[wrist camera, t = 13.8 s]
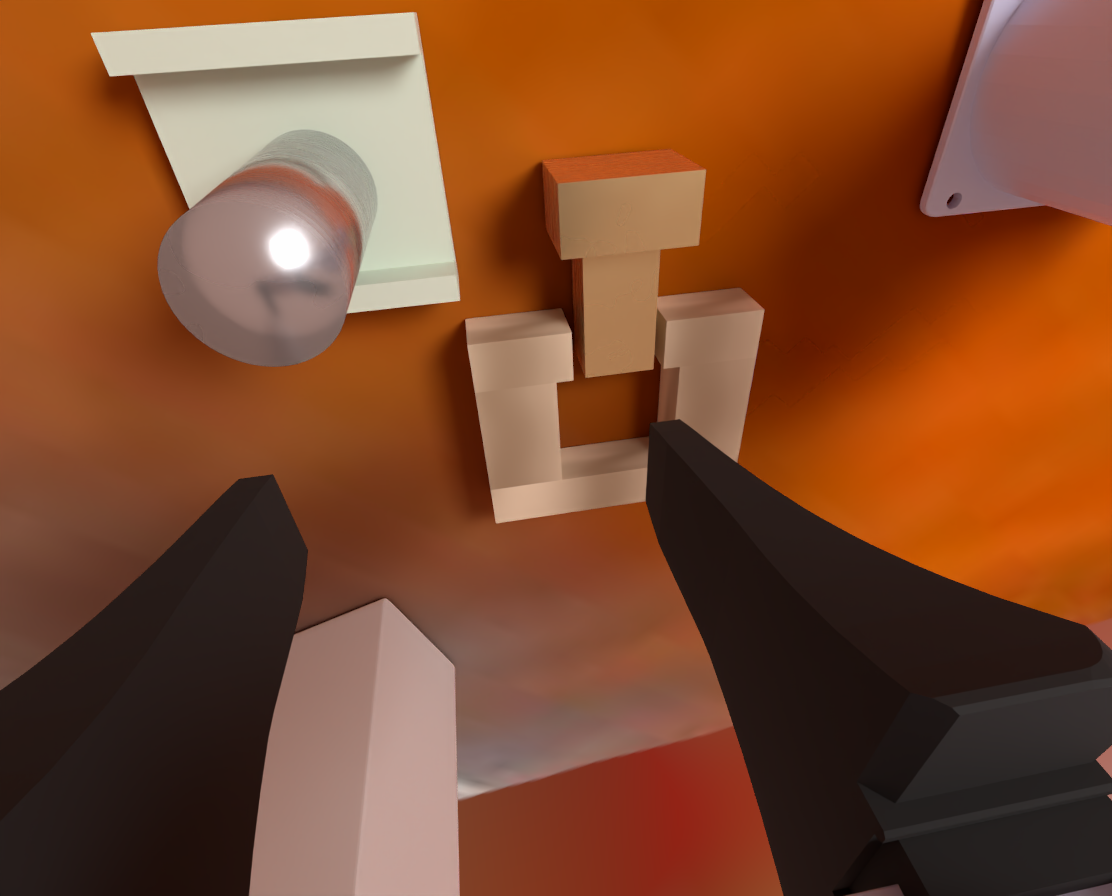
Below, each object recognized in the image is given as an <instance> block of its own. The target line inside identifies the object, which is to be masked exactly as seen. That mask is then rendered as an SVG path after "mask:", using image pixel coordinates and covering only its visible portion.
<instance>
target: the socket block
mask: <svg viewBox="0 0 1112 896" xmlns="http://www.w3.org/2000/svg"><path fill="white" fill-rule="evenodd" d="M764 311H765V309H763V308H762V307H761V306H760V305H759V304H758V303H757V302H756V301H755V300H754V299H752V298H751V297H750V296H749V295H748V294H747V293H746V292H745V291H744V290H743V289H741V288H731V289H723V290H714V291H705V292H696V293H688V294H679V295H670V296H662V297H658V299H657V316H656V334H655V351H654V355H655V356H656V358H657V359H658V361H659V363H660V364H661V375H660V390H659V404H658V419H657V422H662V421H669V420H677V419H680V420H682V421H683V422H684V423H686V424H687V425H688V426H690V427H691V428H692V429H694V430H695V431H696V432H698V433H699V434H700V435H701V436H703V437H704V438H705V439H707V440H708V441H709V442H710V443H712V444H713V445H714V446H716V447H717V448H718V449H719V450H721V451H722V452H723V453H725V454H726V455H727V456H729V457H730V458H731V459H733V460H734V461H735V462H737V461H738V455H739V450H740V444H741V439H742V433H743V428H744V422H745V417H746V411H747V405H748V400H749V394H750V389H751V383H752V378H753V372H754V366H755V361H756V355H757V350H758V344H759V339H760V333H761V328H762V322H763V316H764ZM465 323H466V335H467V347H468V353H469V359H470V365H471V371H472V378H473V384H474V390H475V396H476V402H477V409H478V415H479V421H480V427H481V434H482V440H483V446H484V452H485V458H486V465H487V471H488V477H489V483H490V489H491V496H492V502H493V508H494V514H495V520H496V523H502V522H509V521H516V520H522V519H529V518H536V517H542V516H549V515H556V514H563V513H569V512H576V511H583V510H589V509H596V508H603V507H610V506H616V505H623V504H630V503H636V502H643V501H646V500H645V499H646V481H647V464H648V447H649V436H647V437H640V438H632V439H625V440H618V441H611V442H604V443H596V444H589V445H582V446H575V447H567V448H560V435H559V418H558V401H557V384H556V383H558V382H565V381H573V380H574V378H573V352H572V332H571V330H570V327H569V325H568V322H567V320H566V317H565V315H564V313H563V310H562V308H557V309H549V310H540V311H531V312H522V313H514V314H505V315H496V316H488V317H479V318H470V319H465Z"/></svg>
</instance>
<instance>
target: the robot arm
mask: <svg viewBox="0 0 1112 896" xmlns="http://www.w3.org/2000/svg"><path fill="white" fill-rule="evenodd" d="M953 194H954V197H953V199H952V201H951V202H950V203H949V204H948V205H947V201H948V199H949V197H950V196H952V195H953ZM1043 205H1047V206H1050V207H1053V208H1056V209H1060V210H1063V211H1066V212H1069V213H1072V214H1075V215H1079V216H1082V217H1085V218H1088V219H1091V220H1095V221H1098V222H1101V223H1104V224H1107V225H1110V226H1112V0H984V2H983V5H982V8H981V11H980V15H979V18H978V21H977V24H976V27H975V30H974V34H973V37H972V40H971V43H970V46H969V49H968V52H967V56H966V59H965V62H964V65H963V68H962V71H961V75H960V78H959V81H958V84H957V87H956V90H955V94H954V97H953V100H952V103H951V106H950V109H949V113H948V116H947V119H946V122H945V125H944V128H943V132H942V135H941V138H940V141H939V144H938V147H937V150H936V154H935V157H934V160H933V163H932V166H931V169H930V173H929V176H928V179H927V182H926V185H925V188H924V192H923V195H922V198H921V201H920V210H921V212H922V213H924V214H925V215H928V216H930V217H940V216H950V215H959V214H968V213H978V212H987V211H997V210H1006V209H1015V208H1025V207H1034V206H1043ZM645 500H646V504H647V507H648V510H649V514H650V517H651V520H652V524H653V527H654V530H655V533H656V536H657V539H658V542H659V545H660V547H661V549H662V552H663V554H664V556H665V558H666V560H667V563H668V565H669V567H670V569H671V571H672V573H673V576H674V578H675V580H676V582H677V584H678V586H679V589H680V591H681V593H682V595H683V597H684V599H685V602H686V604H687V606H688V608H689V610H690V612H691V614H692V617H693V619H694V621H695V623H696V625H697V627H698V630H699V632H700V634H701V636H702V638H703V641H704V643H705V646H706V648H707V650H708V653H709V655H710V658H711V661H712V663H713V666H714V669H715V672H716V675H717V678H718V681H719V684H720V687H721V690H722V692H723V695H724V698H725V701H726V704H727V707H728V710H729V713H730V716H731V719H732V723H733V726H734V729H735V732H736V735H737V738H738V741H739V744H740V747H741V750H742V753H743V756H744V760H745V763H746V766H747V769H748V773H749V776H750V779H751V783H752V785H753V789H754V793H755V796H756V799H757V803H758V806H759V809H760V812H761V816H762V819H763V823H764V827H765V830H766V834H767V837H768V841H769V844H770V848H771V851H772V855H773V858H774V862H775V866H776V869H777V873H778V876H779V880H780V884H781V887H782V891H783V895H784V896H1112V801H1111V799H1110V798H1109V797H1108V796H1107V795H1109V794H1112V778H1111V777H1110V776H1109V774H1108V773H1107V772H1106V771H1105V770H1104V769H1103V768H1102V766H1101V765H1100V764H1099V763H1098V762H1097V761H1096V759H1097V758H1098V757H1099V756H1100V755H1101V754H1102V753H1103V752H1105V751H1106V749H1108V748H1109V747H1110V746H1111V745H1112V650H1111V649H1110V648H1109V647H1108V646H1107V645H1106V644H1105V643H1103V641H1102V640H1100V639H1099V638H1098V637H1097V636H1096V635H1095V634H1094V633H1093V632H1092V631H1091V630H1090V629H1089V628H1088V627H1086V626H1085V625H1082V624H1079V623H1075V622H1072V621H1069V620H1066V619H1063V618H1060V617H1057V616H1054V615H1051V614H1048V613H1044V612H1041V611H1038V610H1035V609H1032V608H1029V607H1026V606H1023V605H1020V604H1017V603H1013V602H1010V601H1007V600H1004V599H1001V598H998V597H996V596H993V595H990V594H987V593H985V592H982V591H979V590H977V589H974V588H972V587H969V586H966V585H964V584H961V583H958V582H956V581H953V580H951V579H948V578H945V577H943V576H941V575H938V574H936V573H933V572H931V571H928V570H926V569H924V568H921V567H919V566H917V565H914V564H912V563H910V562H908V561H905V560H903V559H901V558H899V557H897V556H895V555H892V554H890V553H888V552H886V551H884V550H881V549H879V548H877V547H875V546H873V545H871V544H869V543H867V542H865V541H863V540H861V539H859V538H857V537H855V536H853V535H851V534H849V533H847V532H846V531H844V530H842V529H840V528H838V527H836V526H835V525H833V524H831V523H829V522H827V521H825V520H824V519H822V518H820V517H818V516H817V515H815V514H813V513H811V512H810V511H808V510H806V509H805V508H803V507H801V506H800V505H798V504H797V503H795V502H794V501H792V500H791V499H789V498H787V497H786V496H784V495H783V494H781V493H780V492H778V491H776V490H775V489H773V488H772V487H770V486H769V485H768V484H766V483H765V482H763V481H762V480H760V479H759V478H757V477H756V476H755V475H753V474H752V473H750V472H749V471H748V470H746V469H745V468H743V467H742V466H741V465H739V464H738V463H737V462H735V461H734V460H733V459H731V458H730V457H729V456H727V455H726V454H725V453H723V452H722V451H721V450H719V449H718V448H717V447H716V446H714V445H713V444H712V443H710V442H709V441H708V440H707V439H705V438H704V437H703V436H701V435H700V434H699V433H698V432H696V431H695V430H694V429H692V428H691V427H690V426H688V425H687V424H686V423H684V422H683V421H682V420H680V419H677V420H669V421H662V422H655V423H650V430H649V447H648V464H647V481H646V499H645ZM307 554H308V550H307V547H306V545H305V543H304V541H303V539H302V536H301V534H300V532H299V530H298V528H297V526H296V523H295V521H294V519H293V517H292V515H291V512H290V510H289V508H288V506H287V504H286V502H285V499H284V497H283V495H282V493H281V491H280V488H279V486H278V484H277V482H276V480H275V478H274V475H266V476H258V477H251V478H244V479H239V480H238V481H237V482H235V483H234V484H233V485H232V486H231V487H230V488H229V489H228V490H227V491H226V492H225V493H224V494H223V495H222V496H221V497H220V498H219V499H218V500H217V501H216V502H215V503H214V504H213V505H212V506H211V507H210V508H209V509H208V510H207V511H206V512H205V513H204V514H203V515H202V516H201V517H200V518H199V519H198V520H197V521H196V522H195V523H194V524H193V525H192V526H191V527H190V528H189V529H188V530H187V531H186V532H185V533H184V534H183V535H182V536H181V537H180V538H179V539H178V540H177V541H176V542H175V543H174V544H173V545H172V546H171V547H170V548H169V549H168V550H167V551H166V552H165V553H164V554H163V555H162V556H161V557H160V558H159V559H158V560H157V561H156V562H155V563H154V564H153V565H151V566H150V567H149V568H148V569H147V570H146V571H145V572H144V573H143V574H142V575H141V576H140V577H138V578H137V579H136V580H135V581H134V582H133V583H132V584H131V585H130V586H129V587H128V588H126V589H125V590H124V591H123V592H122V593H121V594H120V595H119V596H118V597H117V598H116V599H115V600H113V601H112V602H111V603H110V604H109V605H108V606H107V607H106V608H105V609H104V610H102V611H101V612H100V613H99V614H98V615H97V616H95V617H94V618H93V619H92V620H91V621H90V622H88V623H87V624H86V625H85V626H84V627H82V628H81V629H80V630H79V631H78V632H76V633H75V634H74V635H73V636H72V637H70V638H69V639H68V640H67V641H65V642H64V643H63V644H62V645H60V646H59V647H58V648H56V649H55V650H54V651H53V652H51V653H50V654H49V655H48V656H46V657H45V658H44V659H43V660H41V661H40V662H39V663H38V664H36V665H35V666H34V667H32V668H31V669H30V670H28V671H27V672H26V673H24V674H23V675H21V676H20V677H19V678H17V679H16V680H14V681H13V682H12V683H10V684H9V685H8V686H6V687H5V688H3V689H2V690H1V691H0V896H249V891H250V880H251V870H252V859H253V849H254V841H255V833H256V824H257V816H258V808H259V800H260V792H261V785H262V778H263V771H264V765H265V758H266V751H267V744H268V738H269V733H270V728H271V723H272V719H273V714H274V709H275V706H276V702H277V698H278V694H279V690H280V686H281V682H282V679H283V675H284V671H285V667H286V663H287V659H288V656H289V652H290V648H291V644H292V640H293V636H294V632H295V628H296V624H297V620H298V616H299V612H300V608H301V604H302V600H303V592H304V584H305V576H306V565H307Z"/></svg>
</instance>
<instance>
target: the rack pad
mask: <svg viewBox="0 0 1112 896" xmlns="http://www.w3.org/2000/svg"><path fill="white" fill-rule="evenodd" d="M91 35H92V37H93V40H94V42H95V44H96V46H97V49H98V51H99V53H100V55H101V58H102V60H103V62H104V64H105V67H106V69H107V71H108V74H109V76H123V75H134V78H135V80H136V83H137V85H138V87H139V90H140V92H141V95H142V97H143V99H144V102H145V104H146V106H147V109H148V111H149V114H150V116H151V118H152V121H153V123H154V126H155V128H156V130H157V133H158V135H159V137H160V140H161V142H162V145H163V147H164V149H165V152H166V154H167V156H168V159H169V161H170V164H171V166H172V168H173V171H174V173H175V176H176V178H177V180H178V183H179V185H180V187H181V190H182V192H183V195H184V197H185V199H186V202H187V204H188V207H189V209H191V208H192V207H193V206H194V205H195V204H197V203H198V202H199V201H200V200H201V199H203V198H204V197H205V196H206V195H207V194H209V193H210V192H211V191H212V190H213V189H215V188H216V187H217V186H218V185H219V184H221V183H222V182H223V181H224V180H225V179H227V178H228V177H229V176H230V175H232V174H233V173H234V172H235V171H236V170H238V169H239V168H240V167H241V166H242V165H244V164H245V163H246V162H247V161H248V160H250V159H251V158H252V157H253V156H254V155H256V154H257V153H258V152H259V151H260V150H262V149H263V148H264V147H265V146H266V145H268V144H269V143H270V142H271V141H273V140H274V139H275V138H277V137H278V136H280V135H282V134H284V133H287V132H290V131H294V130H307V129H308V130H316V131H320V132H324V133H327V134H329V135H332V136H334V137H336V138H338V139H339V140H341V141H343V142H344V143H345V144H347V145H348V146H349V147H351V148H352V149H353V150H354V151H355V152H356V153H357V154H358V155H359V156H360V157H361V159H362V160H363V161H364V163H365V164H366V166H367V167H368V169H369V171H370V173H371V175H372V177H373V180H374V183H375V186H376V191H377V200H378V205H377V213H376V217H375V221H374V224H373V227H372V231H371V234H370V237H369V241H368V244H367V247H366V251H365V254H364V257H363V260H362V264H361V267H360V270H359V274H358V277H357V280H356V284H355V287H354V290H353V294H352V297H351V300H350V304H349V307H348V310H347V313H355V312H363V311H372V310H381V309H390V308H399V307H408V306H417V305H426V304H435V303H444V302H453V301H460V292H459V277H458V271H457V264H456V258H455V252H454V245H453V239H452V233H451V226H450V220H449V214H448V207H447V201H446V195H445V189H444V182H443V176H442V170H441V163H440V157H439V151H438V144H437V138H436V132H435V126H434V119H433V113H432V107H431V100H430V94H429V88H428V81H427V75H426V69H425V63H424V56H423V50H422V44H421V37H420V31H419V25H418V18H417V13H415V12H411V13H396V14H380V15H364V16H349V17H333V18H318V19H302V20H287V21H271V22H255V23H240V24H224V25H209V26H193V27H178V28H162V29H146V30H131V31H115V32H100V33H91Z"/></svg>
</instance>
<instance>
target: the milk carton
mask: <svg viewBox="0 0 1112 896" xmlns="http://www.w3.org/2000/svg"><path fill="white" fill-rule="evenodd" d="M249 896H460V894H459V847H458V797H457V748H456V700H455V667H454V665H453V664H452V663H451V662H450V661H449V660H448V659H447V658H446V657H445V656H444V655H443V654H442V653H441V652H440V651H439V650H438V649H437V648H436V647H435V646H434V645H433V644H432V643H431V642H430V641H429V640H428V639H427V638H426V637H425V636H424V635H423V634H422V633H421V632H420V631H419V630H418V629H417V628H416V627H415V626H414V625H413V624H412V623H411V622H410V621H409V620H408V619H407V618H406V617H405V616H404V615H403V614H402V613H401V612H400V611H399V610H398V609H397V608H396V607H395V606H394V605H393V604H392V603H391V602H390V601H389V600H388V599H386V598H383V599H381V600H378V601H376V602H373V603H371V604H368V605H366V606H363V607H361V608H358V609H356V610H353V611H351V612H349V613H346V614H344V615H341V616H339V617H336V618H334V619H331V620H329V621H326V622H324V623H321V624H319V625H317V626H314V627H312V628H309V629H307V630H304V631H302V632H299V633H297V634H294V636H293V640H292V644H291V648H290V652H289V656H288V659H287V663H286V667H285V671H284V675H283V679H282V682H281V686H280V690H279V694H278V698H277V702H276V706H275V709H274V714H273V719H272V723H271V728H270V733H269V738H268V744H267V751H266V758H265V765H264V771H263V778H262V785H261V792H260V800H259V808H258V816H257V824H256V833H255V841H254V849H253V859H252V870H251V880H250V891H249Z"/></svg>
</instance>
